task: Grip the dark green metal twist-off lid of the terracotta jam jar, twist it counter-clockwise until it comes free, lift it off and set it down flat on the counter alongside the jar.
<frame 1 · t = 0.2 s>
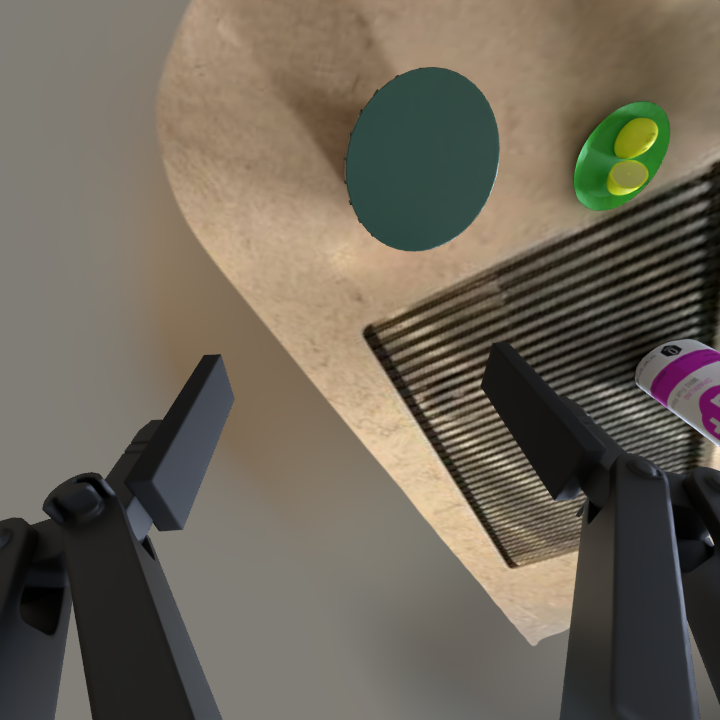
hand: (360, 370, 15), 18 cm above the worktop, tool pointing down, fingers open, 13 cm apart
lemons on plate: (613, 160, 27), on the worktop
jar lid: (421, 171, 16), point 12 cm above the worktop, screwed on, not yet turned
supplement can: (661, 361, 41), on the worktop
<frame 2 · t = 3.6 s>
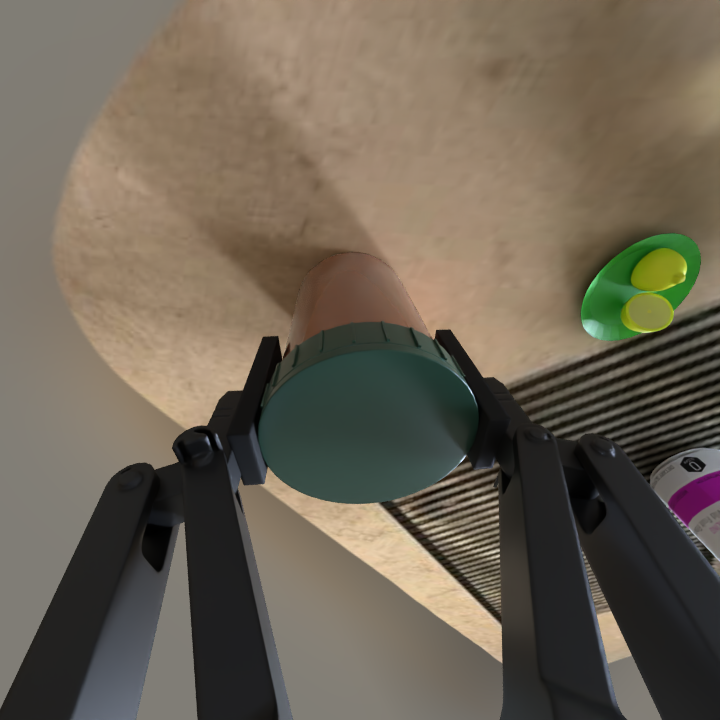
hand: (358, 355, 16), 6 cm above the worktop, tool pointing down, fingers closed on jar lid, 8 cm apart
lemons on plate: (629, 288, 22), on the worktop
jar lid: (369, 434, 12), point 12 cm above the worktop, screwed on, not yet turned, touching gripper
supplement can: (679, 465, 36), on the worktop
jam jar: (352, 307, 21), on the worktop
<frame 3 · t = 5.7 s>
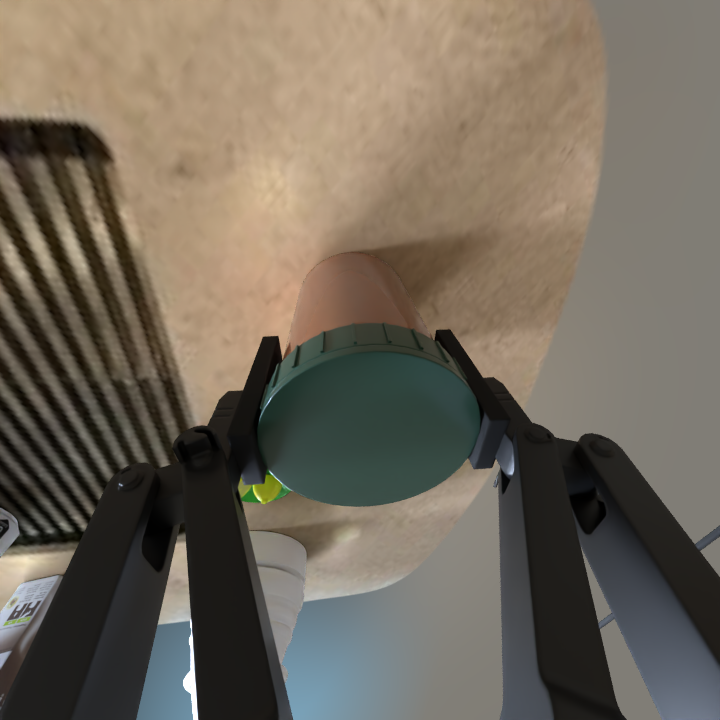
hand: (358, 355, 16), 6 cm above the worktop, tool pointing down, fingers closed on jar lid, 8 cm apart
lemons on plate: (256, 472, 31), on the worktop
jar lid: (369, 436, 12), point 12 cm above the worktop, off its thread, touching gripper
jam jar: (352, 307, 21), on the worktop
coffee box: (69, 589, 42), on the worktop
honey pot: (257, 554, 40), on the worktop
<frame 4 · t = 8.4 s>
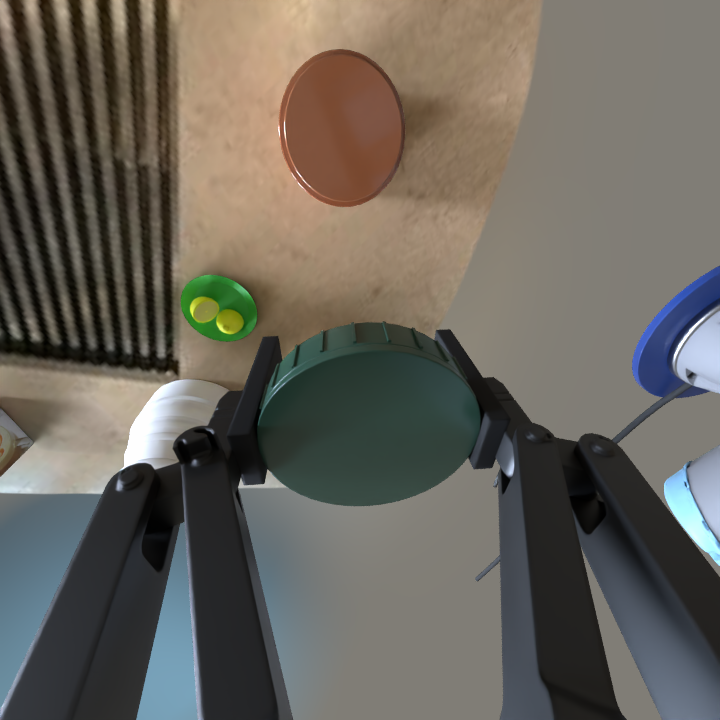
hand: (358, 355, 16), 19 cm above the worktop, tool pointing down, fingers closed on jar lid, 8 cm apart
lemons on plate: (222, 307, 34), on the worktop
jar lid: (369, 436, 12), point 25 cm above the worktop, off its thread, touching gripper
jam jar: (339, 142, 27), on the worktop
honey pot: (201, 414, 43), on the worktop
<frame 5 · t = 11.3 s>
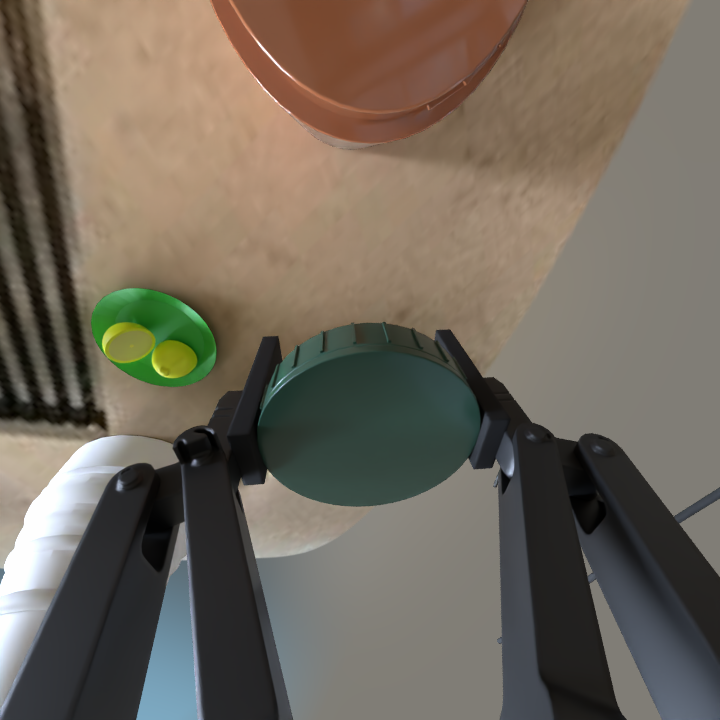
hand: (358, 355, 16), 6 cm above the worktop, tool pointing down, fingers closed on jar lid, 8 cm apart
lemons on plate: (162, 336, 22), on the worktop
jar lid: (369, 436, 12), point 12 cm above the worktop, off its thread, touching gripper
jam jar: (350, 52, 14), on the worktop
honey pot: (148, 477, 31), on the worktop
when the fingers open (0 cm above the worktop, at t = 13.5 s): jar lid drops 2 cm, point 1 cm above the worktop.
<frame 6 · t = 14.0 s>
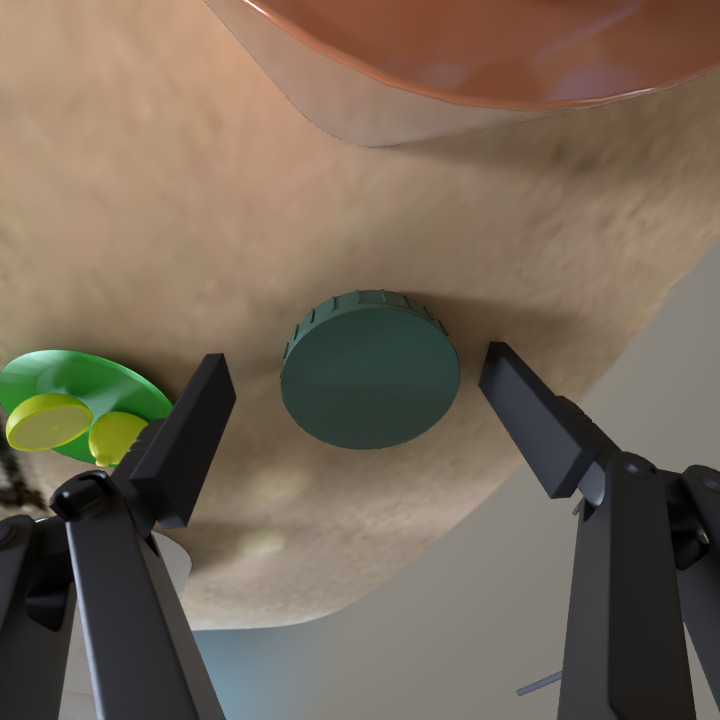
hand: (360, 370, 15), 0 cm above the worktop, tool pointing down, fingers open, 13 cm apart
lemons on plate: (106, 405, 16), on the worktop
jar lid: (370, 385, 14), point 1 cm above the worktop, off its thread
honey pot: (108, 557, 25), on the worktop
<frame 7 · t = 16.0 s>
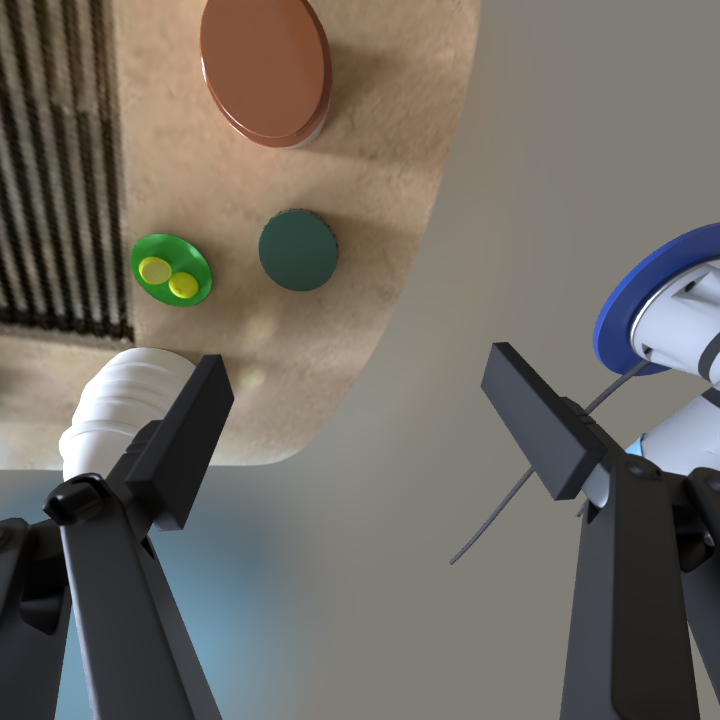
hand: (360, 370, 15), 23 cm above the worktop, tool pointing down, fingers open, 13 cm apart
lemons on plate: (175, 270, 34), on the worktop
jar lid: (298, 253, 32), point 1 cm above the worktop, off its thread
jam jar: (286, 95, 26), on the worktop
honey pot: (161, 385, 42), on the worktop
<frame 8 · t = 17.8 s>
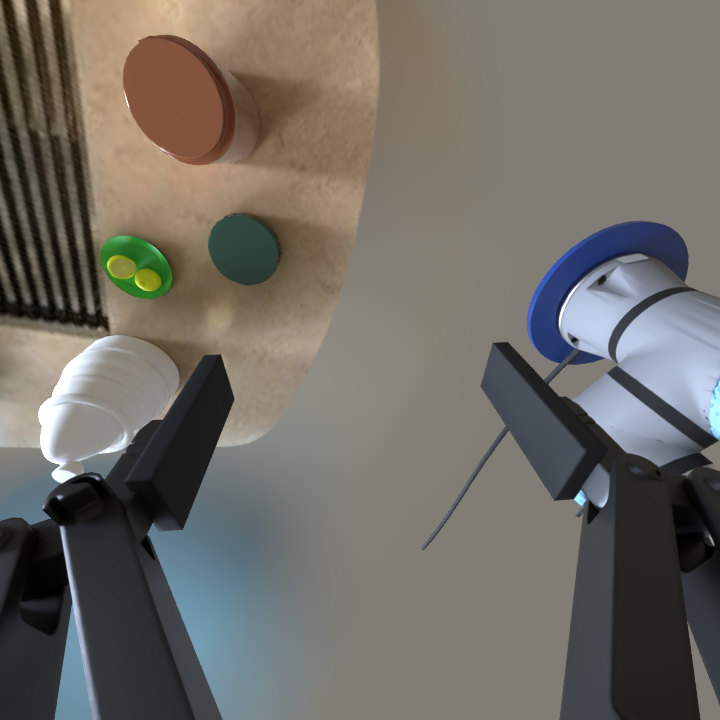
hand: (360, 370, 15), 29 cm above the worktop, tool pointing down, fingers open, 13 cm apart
lemons on plate: (140, 267, 39), on the worktop
jar lid: (244, 251, 37), point 1 cm above the worktop, off its thread
jam jar: (222, 118, 31), on the worktop
honey pot: (135, 370, 47), on the worktop
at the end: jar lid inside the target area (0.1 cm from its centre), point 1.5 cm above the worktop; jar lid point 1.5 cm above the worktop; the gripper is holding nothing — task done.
